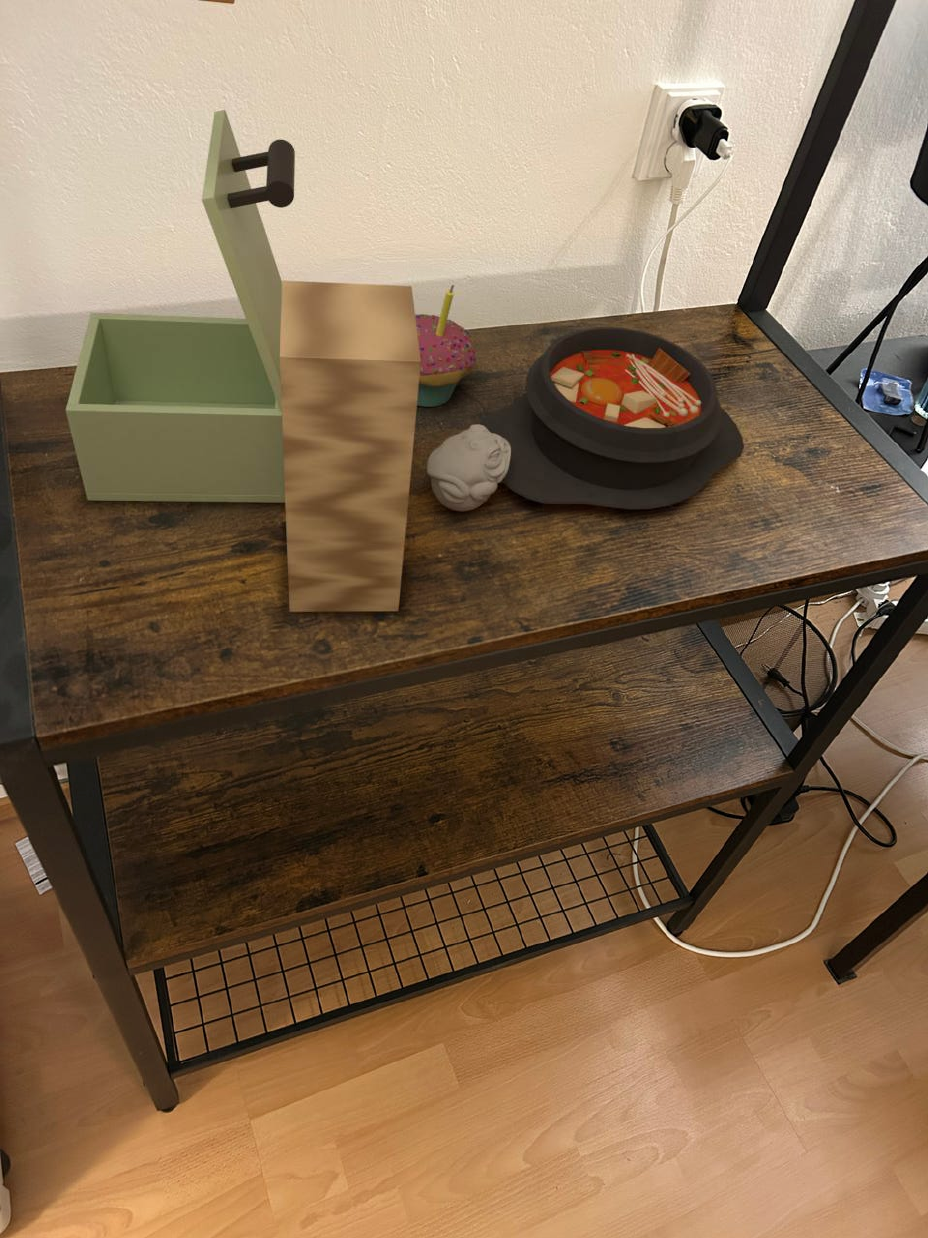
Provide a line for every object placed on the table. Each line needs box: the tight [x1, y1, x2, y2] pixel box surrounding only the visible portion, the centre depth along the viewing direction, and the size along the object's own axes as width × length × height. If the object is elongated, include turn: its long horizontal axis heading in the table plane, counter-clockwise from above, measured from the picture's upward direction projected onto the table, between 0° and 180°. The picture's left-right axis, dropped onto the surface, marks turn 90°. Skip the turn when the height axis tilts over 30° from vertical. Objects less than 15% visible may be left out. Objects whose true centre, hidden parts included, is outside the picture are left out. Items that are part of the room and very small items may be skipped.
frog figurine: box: [426, 423, 511, 512], centre depth 78 cm, size 6×7×7 cm
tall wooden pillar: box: [280, 280, 421, 613], centre depth 66 cm, size 8×8×22 cm
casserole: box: [479, 326, 745, 510], centre depth 84 cm, size 25×19×8 cm
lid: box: [201, 109, 296, 411], centre depth 69 cm, size 16×13×5 cm
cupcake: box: [415, 284, 477, 408], centre depth 86 cm, size 9×8×12 cm
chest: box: [65, 312, 285, 504], centre depth 78 cm, size 16×13×9 cm
